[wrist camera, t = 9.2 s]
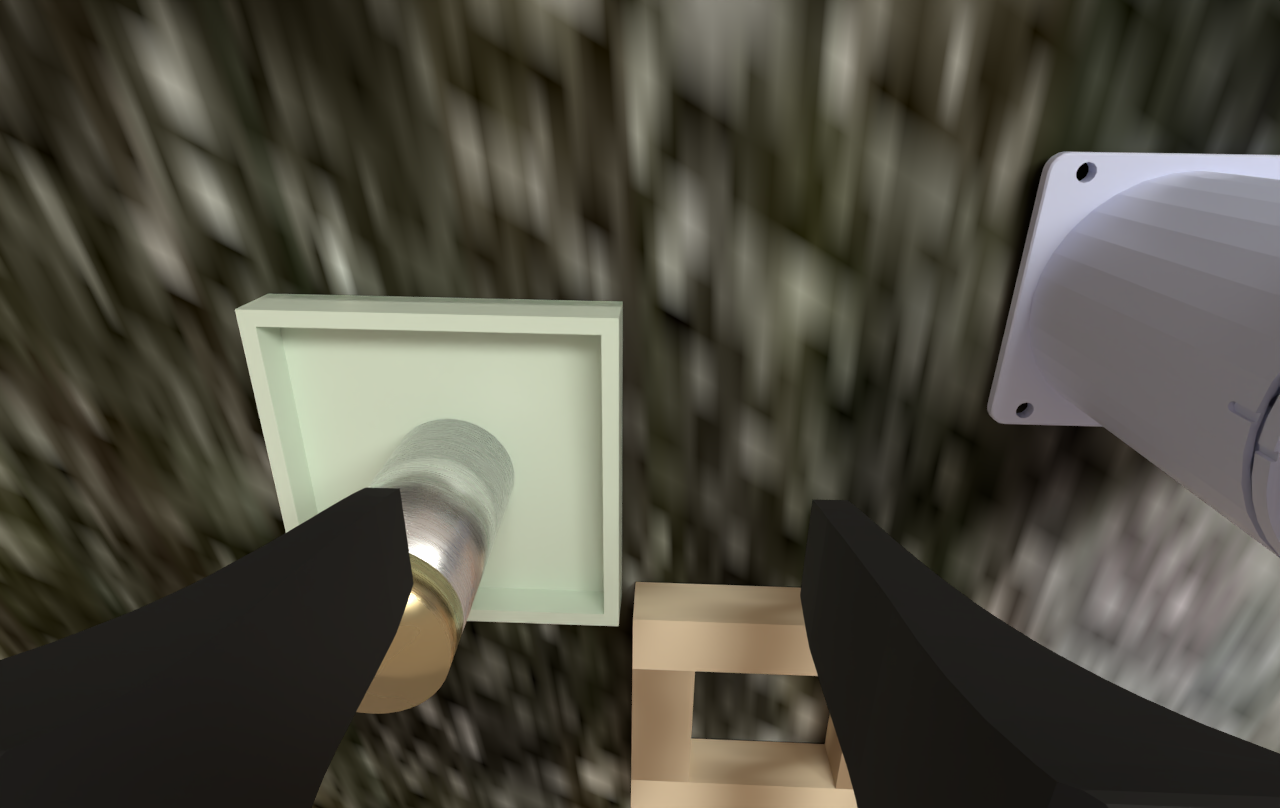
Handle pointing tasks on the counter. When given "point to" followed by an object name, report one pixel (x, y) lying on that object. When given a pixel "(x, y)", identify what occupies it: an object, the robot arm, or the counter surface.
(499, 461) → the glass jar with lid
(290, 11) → the counter surface
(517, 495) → the tray
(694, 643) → the tan square frame
